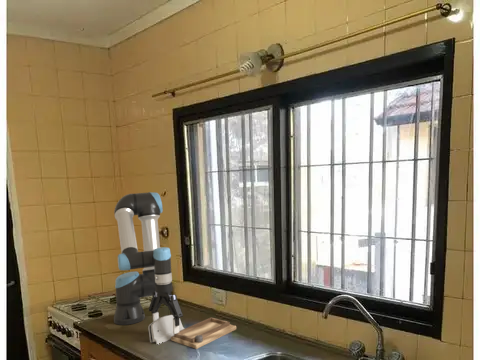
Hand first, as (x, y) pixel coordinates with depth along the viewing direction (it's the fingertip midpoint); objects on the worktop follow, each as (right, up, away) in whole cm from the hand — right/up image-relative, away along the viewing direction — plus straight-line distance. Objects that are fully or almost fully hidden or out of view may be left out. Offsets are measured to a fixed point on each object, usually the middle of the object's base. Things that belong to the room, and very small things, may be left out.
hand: (166, 330), depth 180 cm
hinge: (0, -3, +1) cm, 3 cm away
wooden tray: (+17, -2, 0) cm, 17 cm away
